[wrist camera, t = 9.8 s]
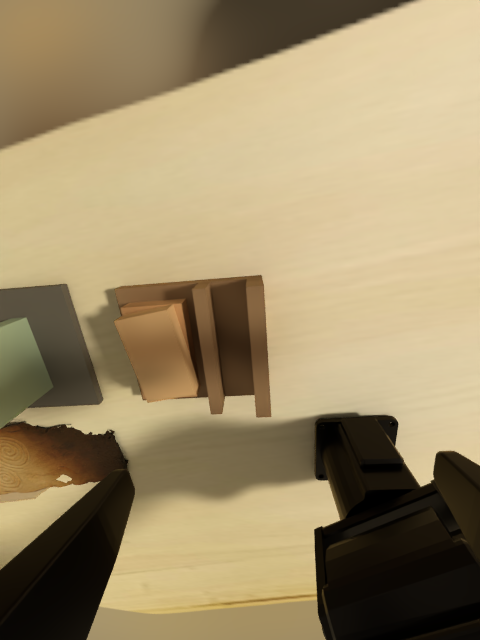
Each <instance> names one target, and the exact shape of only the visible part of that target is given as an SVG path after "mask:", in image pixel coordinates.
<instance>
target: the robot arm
mask: <svg viewBox="0 0 480 640" xmlns="http://www.w3.org/2000/svg"><path fill="white" fill-rule="evenodd" d="M390 422H391V423H390ZM320 425H323V426H320ZM397 430H398V422H397V420H396V419H395V418H394V417H393V416H378V417H353V418H329V419H319V420H317V421H316V423H315V476H316V479H317V480H328V481H329V484H330V488H331V491H332V494H333V497H334V501H335V504H336V507H337V510H338V513H339V517H340V521H338V522H335V523H333V524H330V525H328V526H326V527H322V526H321V527H319V528H316V529H314V534H315V561H316V582H317V602H318V615H319V619H320V622H321V624H322V630H323V634H324V636H325V639H326V640H480V466H479V465H478V464H476V463H474V462H473V461H471V460H469V459H468V458H466V457H464V456H462V455H461V454H459V453H457V452H455V451H439V452H438V453H437V454H436V458H435V465H434V471H433V475H434V480H432V481H431V483H429V484H427V485H424V486H422V487H420V485H419V484H418V482H417V481H416V479H415V478H414V476H413V475H412V473H411V472H410V470H409V469H408V467H407V466H406V464H405V463H404V460H403V458H402V456H401V455H400V453H399V452H398V450H397V449H396V447H395V443H396V436H397ZM134 495H135V488H134V485H133V482H132V479H131V476H130V473H129V471H128V470H127V469H118V470H113V471H112V472H111V473H109V474H108V475H107V476H106V477H105V478H104V479H103V480H101V481H100V482H99V483H98V484H97V485H96V486H95V487H94V488H92V489H91V490H90V491H89V492H88V493H87V494H86V495H85V496H83V497H82V498H81V499H80V500H79V501H78V502H77V503H75V504H74V505H73V506H72V507H71V508H70V509H69V510H68V511H66V512H65V513H64V514H63V515H62V516H61V517H60V518H59V519H57V520H56V521H55V522H54V523H53V524H52V525H51V526H49V527H48V528H47V529H46V530H45V531H44V532H43V533H42V534H40V535H39V536H38V537H37V538H36V539H35V540H34V541H33V542H31V543H30V544H29V545H28V546H27V547H26V548H25V549H23V550H22V551H21V552H20V553H19V554H18V555H17V556H16V557H14V558H13V559H12V560H11V561H10V562H9V563H8V564H7V565H5V566H4V567H3V568H2V569H1V570H0V640H86V639H87V637H88V634H89V631H90V629H91V626H92V623H93V621H94V618H95V615H96V612H97V610H98V607H99V605H100V602H101V599H102V597H103V594H104V591H105V588H106V586H107V583H108V580H109V578H110V575H111V572H112V570H113V567H114V564H115V561H116V558H117V555H118V552H119V549H120V545H121V542H122V538H123V535H124V531H125V528H126V524H127V521H128V517H129V514H130V510H131V506H132V503H133V499H134Z"/></svg>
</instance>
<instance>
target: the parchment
mask: <svg viewBox="0 0 480 640" xmlns="http://www.w3.org/2000/svg"><path fill="white" fill-rule="evenodd" d="M70 425H71V424H70ZM58 427H59V428H58ZM110 431H111V432H112V433H110V432H109V431H106V434H104V435H102V434H98V435H91V434H92V432H90V433H89V434H87V435H86V434H84V433H82V432H81V431H80V430H77V429H75V428H72V427H71V428H67V427H66V425H61V427H60V425H59V426H54V427H50V428H47V429H45V428H41V427H38V425H37V426H32V425H30V424H26V423H24V422H22V423H20V424H11V425H8V426H5V427H2V428H1V429H0V503H3V502H12V501H20V500H28V499H35V498H36V497H37V496H38V495H40V494H41V493H43V492H44V491H46V490H47V489H48V488H50V487H53V486H55V487H63V486H67V485H70V484H72V483H73V484H74V485H81V484H85V483H88V482H99V481H101V480H103V479H104V478H105V477H106V476H107V475H108V474H109V473H111V472H112V471H113V470H118V469H127V463H128V461H125V459H124V456H123V454H122V452H121V449H120V447H119V445H118V443H116V440H115V436H113V433H114V431H112V430H110ZM62 474H64V475H67V476H69V477H71V478H72V480H71V481H68V482H67V483H64V482H61V481H58V480H56V479H57V478H59V477H60V475H62Z"/></svg>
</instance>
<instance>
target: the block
mask: <svg viewBox="0 0 480 640" xmlns="http://www.w3.org/2000/svg"><path fill="white" fill-rule="evenodd" d="M52 388H53V384H52V382H51V379H50V377H49V374H48V372H47V369H46V366H45V364H44V361H43V359H42V356H41V354H40V351H39V349H38V346H37V343H36V341H35V338H34V336H33V333H32V331H31V328H30V326H29V323H28V320H27V318H26V317H24V318H11V319H8V320H6V321H3V322H0V429H1V428H2V427H3V426H5V425H6V424H7V423H9V422H10V421H11V420H12V419H14V418H15V417H16V416H17V415H19V414H20V413H21V412H22V411H24V410H25V409H26V408H28V407H29V406H30V405H31V404H33V403H34V402H35V401H36V400H38V399H39V398H40V397H41V396H43V395H44V394H45V393H47V392H48V391H49V390H50V389H52Z"/></svg>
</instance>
